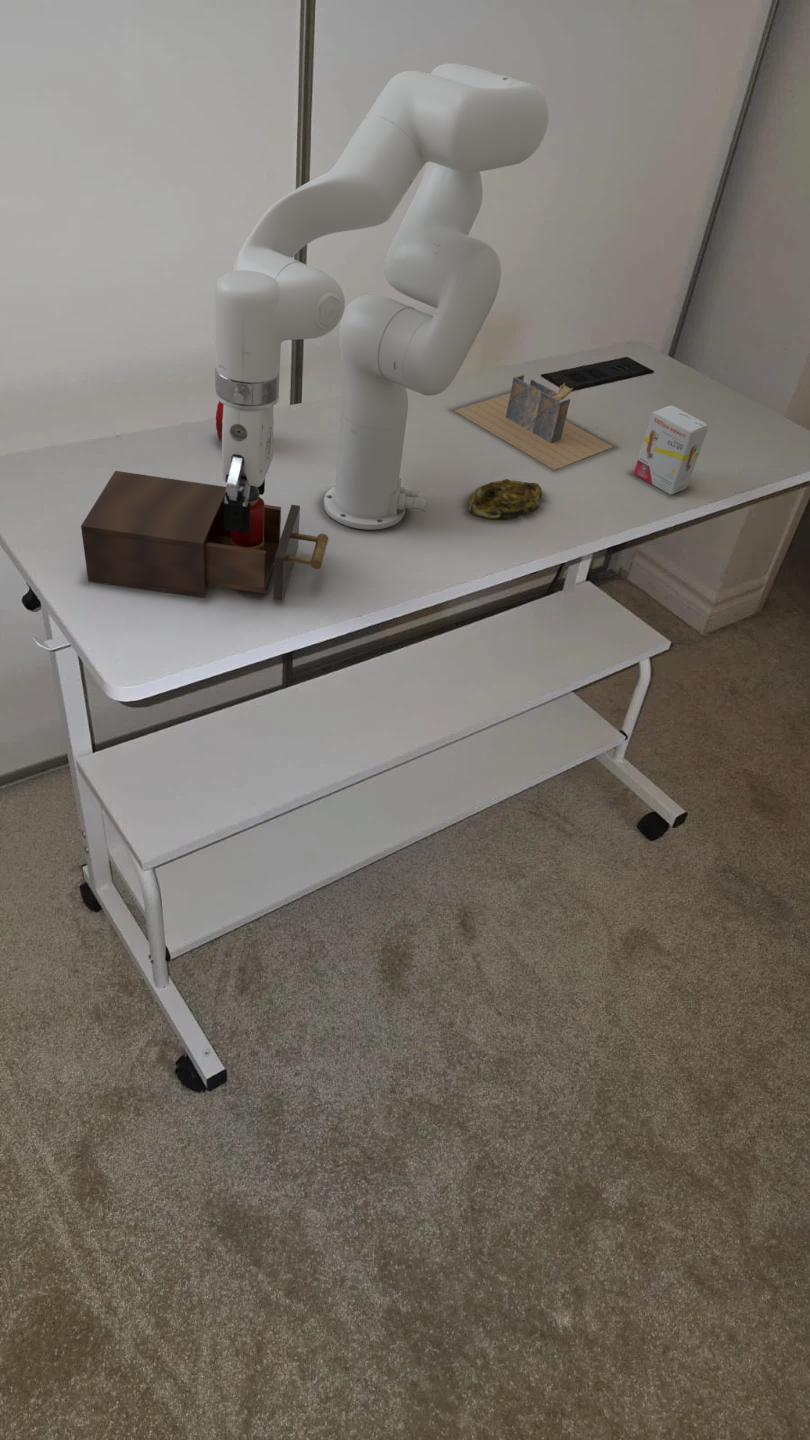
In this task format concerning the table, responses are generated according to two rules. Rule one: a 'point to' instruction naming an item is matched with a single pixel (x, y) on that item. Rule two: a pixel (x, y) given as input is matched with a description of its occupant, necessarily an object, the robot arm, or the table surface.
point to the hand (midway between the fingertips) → (244, 510)
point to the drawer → (259, 554)
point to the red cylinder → (251, 523)
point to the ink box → (670, 449)
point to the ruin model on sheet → (535, 423)
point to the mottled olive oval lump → (505, 499)
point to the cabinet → (151, 533)
